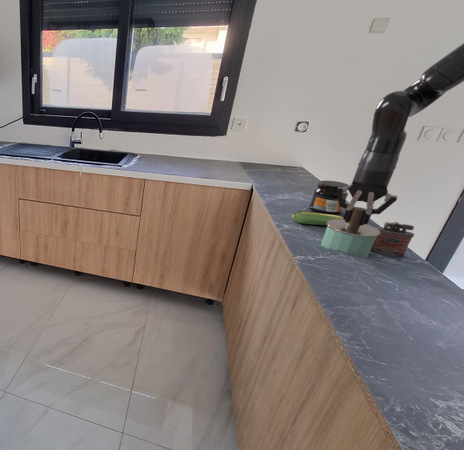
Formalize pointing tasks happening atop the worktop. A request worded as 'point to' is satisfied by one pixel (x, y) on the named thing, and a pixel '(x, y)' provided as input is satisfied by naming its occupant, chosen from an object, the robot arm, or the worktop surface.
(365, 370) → the worktop surface
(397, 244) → the lighter
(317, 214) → the edible corn
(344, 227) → the lid
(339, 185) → the supplement container
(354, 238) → the green faceted pot
